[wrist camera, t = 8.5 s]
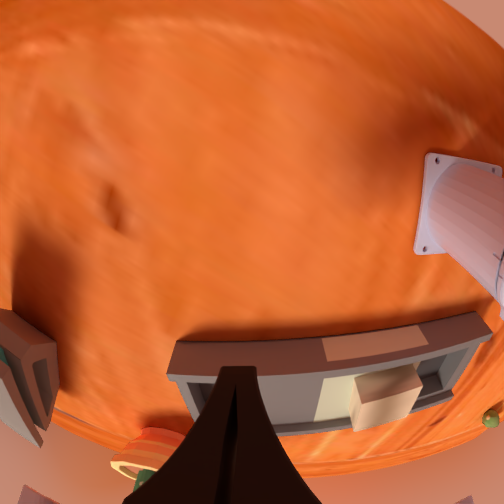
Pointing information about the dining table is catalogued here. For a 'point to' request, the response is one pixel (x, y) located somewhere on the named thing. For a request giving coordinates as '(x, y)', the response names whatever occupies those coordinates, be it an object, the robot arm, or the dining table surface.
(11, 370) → the gray angular rack
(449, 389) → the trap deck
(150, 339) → the dining table surface
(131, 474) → the potted cactus
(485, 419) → the edible corn
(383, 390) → the birch block
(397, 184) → the dining table surface
